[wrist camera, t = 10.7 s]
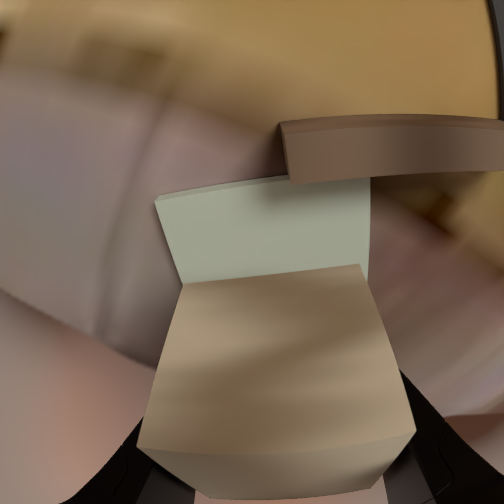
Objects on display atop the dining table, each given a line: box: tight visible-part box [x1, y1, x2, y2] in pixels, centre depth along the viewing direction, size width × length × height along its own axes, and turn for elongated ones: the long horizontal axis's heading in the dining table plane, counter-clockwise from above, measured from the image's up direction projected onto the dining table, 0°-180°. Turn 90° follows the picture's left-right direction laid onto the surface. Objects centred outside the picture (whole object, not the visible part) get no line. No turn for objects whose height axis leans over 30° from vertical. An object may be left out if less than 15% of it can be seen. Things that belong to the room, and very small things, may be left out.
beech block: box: [136, 264, 416, 500], centre depth 8 cm, size 5×5×5 cm
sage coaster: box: [154, 175, 370, 284], centre depth 13 cm, size 8×8×1 cm
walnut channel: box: [279, 114, 504, 185], centre depth 6 cm, size 10×11×2 cm
